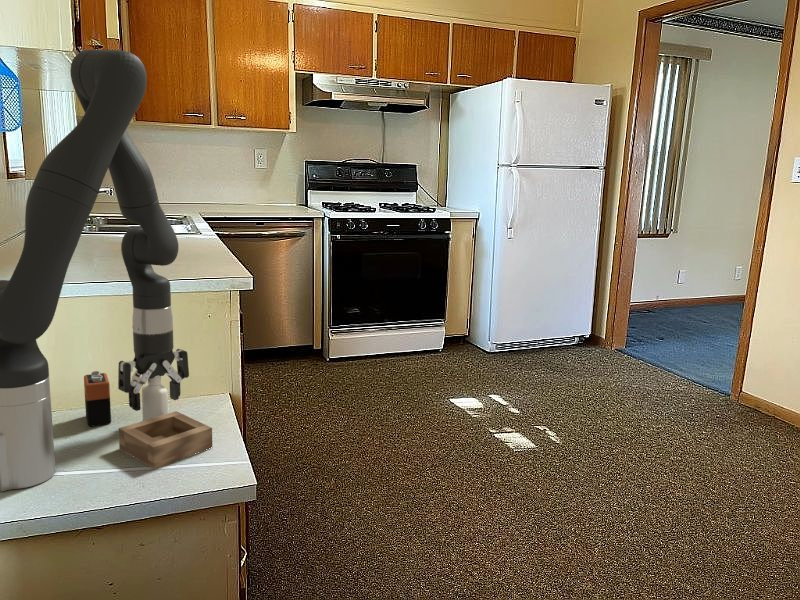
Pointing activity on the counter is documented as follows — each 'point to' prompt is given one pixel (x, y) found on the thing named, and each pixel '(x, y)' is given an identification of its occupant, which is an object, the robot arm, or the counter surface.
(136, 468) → the counter surface
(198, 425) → the walnut open box
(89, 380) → the battery
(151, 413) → the eye dropper bottle
